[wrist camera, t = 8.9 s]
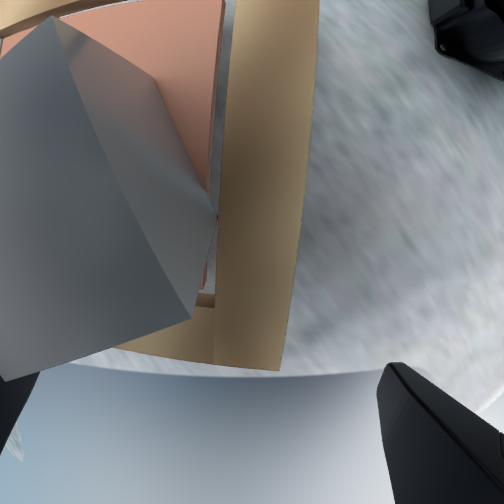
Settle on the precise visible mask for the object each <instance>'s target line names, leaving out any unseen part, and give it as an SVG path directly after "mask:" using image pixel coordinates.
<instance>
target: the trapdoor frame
mask: <svg viewBox="0 0 504 504" xmlns="http://www.w3.org/2000/svg"><path fill="white" fill-rule="evenodd" d="M122 1H127V0H0V39H2V38H3V39H4V38H6V37H9V36H11V35H14V34H16V33H19V32H21V31H24V30H27V29H29V28H32V27H35V26H38V25H40V24H41V23H42V22H43V21H45V20H46V19H47V18H49V17H50V16H51V15H52V16H54V17H56V18H58V19H60V18H59V17H61V16H65V15H68V14H71V13H75V12H78V11H82V10H86V9H90V8H94V7H98V6H103V5H107V4H112V3H117V2H122ZM318 22H319V0H236V6H235V15H234V24H233V34H232V43H231V54H230V64H229V75H228V86H227V98H226V110H225V122H224V136H223V150H222V164H221V180H220V197H219V215H218V235H217V258H216V284H215V295H213V294H204V293H198V295H197V299H196V303H195V307H194V311H193V315H192V319H189V320H187V321H184V322H181V323H178V324H176V325H173V326H170V327H168V328H165V329H162V330H159V331H157V332H154V333H151V334H148V335H146V336H143V337H140V338H137V339H134V340H132V341H129V342H126V343H123V344H120V345H117V346H114V347H113V348H117V349H122V350H127V351H132V352H137V353H142V354H148V355H153V356H159V357H165V358H171V359H177V360H184V361H190V362H197V363H205V364H212V365H220V366H229V367H238V368H248V369H259V370H271V371H280V365H281V359H282V353H283V347H284V341H285V335H286V328H287V322H288V315H289V309H290V302H291V295H292V288H293V281H294V274H295V267H296V260H297V252H298V244H299V237H300V229H301V220H302V212H303V203H304V195H305V186H306V176H307V167H308V157H309V147H310V136H311V125H312V113H313V101H314V88H315V74H316V58H317V41H318Z"/></svg>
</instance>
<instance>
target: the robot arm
mask: <svg viewBox="0 0 504 504" xmlns="http://www.w3.org/2000/svg"><path fill="white" fill-rule="evenodd" d="M430 11H431V22H432V24H433V25H434V33H435V49H436V51H437V52H438V53H439V54H440V55H442V56H445V57H448V58H450V59H453V60H456V61H458V62H461V63H463V64H465V65H468V66H470V67H473V68H475V69H477V70H479V71H482V72H484V73H486V74H488V75H490V76H492V77H495V78H497V79H499V80H501V81H504V77H503V76H502V72H503V74H504V0H430ZM440 45H442V46H443V47H444V49H445V50H444V51H443V50H442V49H441V48H440ZM39 373H40V371H39V372H36V373H33V374H29V375H26V376H23V377H20V378H16V379H13V380H10V381H6V382H5V381H4V379H3V378H2V377H1V376H0V455H1V452H2V450H3V448H4V446H5V444H6V442H7V439H8V437H9V435H10V433H11V431H12V429H13V427H14V425H15V423H16V421H17V419H18V417H19V415H20V413H21V411H22V409H23V407H24V406H25V404H26V402H27V400H28V398H29V396H30V394H31V391H32V390H33V387H34V385H35V383H36V380H37V378H38V376H39ZM377 402H378V409H379V417H380V426H381V434H382V442H383V447H384V452H385V457H386V461H387V466H388V470H389V475H390V480H391V485H392V490H393V495H394V500H395V504H504V434H503V433H501V432H500V433H499V430H497V429H496V428H494V427H493V426H492V425H490V424H489V423H487V422H486V421H485V420H483V419H481V418H480V417H479V416H478V415H476V414H475V413H473V412H472V411H471V410H469V409H468V408H466V407H465V406H464V405H462V404H461V403H459V402H458V401H456V400H455V399H454V398H452V397H451V396H449V395H448V394H447V393H445V392H444V391H442V390H441V389H440V388H438V387H437V386H435V385H434V384H433V383H431V382H430V381H428V380H427V379H426V378H424V377H423V376H421V375H420V374H419V373H417V372H416V371H414V370H413V369H412V368H410V367H409V366H407V365H406V364H405V363H403V362H390V363H388V364H387V365H386V367H385V369H384V371H383V374H382V377H381V379H380V382H379V384H378V387H377Z"/></svg>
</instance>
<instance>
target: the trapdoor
mask: <svg viewBox="0 0 504 504" xmlns="http://www.w3.org/2000/svg"><path fill="white" fill-rule="evenodd" d="M225 5H226V4H225V0H143V1H136V2H130V3H124V4H118V5H113V6H108V7H103V8H98V9H94V10H90V11H86V12H81V13H78V14H74V15H70V16H67V17H63V18H60V20H61V21H63V22H65V23H67V24H68V25H70V26H72V27H74V28H75V29H77V30H79V31H81V32H82V33H84V34H86V35H87V36H89V37H91V38H93V39H94V40H96V41H98V42H99V43H101V44H102V45H104V46H106V47H107V48H109V49H111V50H112V51H114V52H115V53H117V54H119V55H120V56H122V57H123V58H125V59H126V60H128V61H129V62H131V63H133V64H134V65H136V66H137V67H139V68H140V69H142V70H143V71H145V72H146V73H148V74H149V75H151V76H152V77H153V78H154V80H155V82H156V85H157V87H158V89H159V91H160V93H161V96H162V98H163V100H164V102H165V104H166V107H167V109H168V111H169V113H170V115H171V117H172V120H173V122H174V124H175V126H176V128H177V130H178V133H179V135H180V137H181V139H182V141H183V143H184V146H185V148H186V150H187V152H188V154H189V156H190V158H191V161H192V163H193V165H194V167H195V169H196V171H197V173H198V176H199V178H200V180H201V182H202V184H203V186H204V188H205V190H206V193H207V195H208V197H209V194H210V176H211V159H212V144H213V130H214V116H215V104H216V92H217V81H218V70H219V60H220V50H221V40H222V31H223V22H224V14H225ZM36 27H37V26H35V27H32V28H29V29H27V30H24V31H21V32H19V33H16V34H14V35H11V36H9V37H6V38H4V39H3V38H2V39H0V59H1V58H2V57H3V56H4V55H5V54H6V53H7V52H8V51H9V50H10V49H11V48H13V47H14V46H15V45H16V44H17V43H18V42H19V41H20V40H22V39H23V38H24V37H25V36H26V35H27V34H29V33H30V32H31V31H32V30H33V29H35V28H36ZM206 274H207V260H206V264H205V268H204V272H203V276H202V279H201V283H200V287H199V289H203V287H204V285H205V282H206Z"/></svg>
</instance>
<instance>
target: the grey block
mask: <svg viewBox="0 0 504 504" xmlns="http://www.w3.org/2000/svg"><path fill="white" fill-rule="evenodd" d="M217 220H218V216H217V214H216V212H215V209H214V207H213V205H212V203H211V201H210V199H209V197H208V195H207V193H206V190H205V188H204V186H203V184H202V182H201V180H200V178H199V176H198V173H197V171H196V169H195V167H194V165H193V163H192V161H191V158H190V156H189V154H188V152H187V150H186V148H185V146H184V143H183V141H182V139H181V137H180V135H179V133H178V130H177V128H176V126H175V124H174V122H173V120H172V117H171V115H170V113H169V111H168V109H167V107H166V104H165V102H164V100H163V98H162V96H161V93H160V91H159V89H158V87H157V85H156V82H155V80H154V78H153V77H152V76H151V75H149V74H148V73H146V72H145V71H143V70H142V69H140V68H139V67H137V66H136V65H134V64H133V63H131V62H129V61H128V60H126V59H125V58H123V57H122V56H120V55H119V54H117V53H115V52H114V51H112V50H111V49H109V48H107V47H106V46H104V45H102V44H101V43H99V42H98V41H96V40H94V39H93V38H91V37H89V36H87V35H86V34H84V33H82V32H81V31H79V30H77V29H75V28H74V27H72V26H70V25H68V24H67V23H65V22H63V21H61V20H60V19H58V18H56V17H54V16H52V15H51V16H50V17H49V18H47V19H46V20H45V21H43V22H42V23H41V24H40V25H38V26H37V27H36V28H35V29H33V30H32V31H31V32H30V33H29V34H27V35H26V36H25V37H24V38H23V39H22V40H20V41H19V42H18V43H17V44H16V45H15V46H14V47H13V48H11V49H10V50H9V51H8V52H7V53H6V54H5V55H4V56H3V57H2V58H1V59H0V376H1V377H2V378H3V379H4V381H5V382H6V381H10V380H13V379H16V378H20V377H23V376H26V375H29V374H33V373H36V372H39V371H42V370H45V369H48V368H52V367H55V366H57V365H61V364H64V363H67V362H70V361H73V360H76V359H79V358H82V357H85V356H88V355H91V354H94V353H97V352H100V351H103V350H106V349H109V348H112V347H114V346H117V345H120V344H123V343H126V342H129V341H132V340H134V339H137V338H140V337H143V336H146V335H148V334H151V333H154V332H157V331H159V330H162V329H165V328H168V327H170V326H173V325H176V324H178V323H181V322H184V321H187V320H189V319H192V315H193V311H194V307H195V303H196V299H197V295H198V291H199V287H200V283H201V279H202V276H203V272H204V268H205V264H206V260H207V256H208V253H209V249H210V245H211V241H212V238H213V234H214V230H215V227H216V223H217Z"/></svg>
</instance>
